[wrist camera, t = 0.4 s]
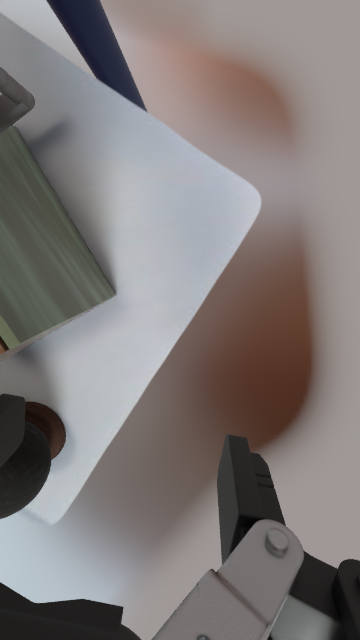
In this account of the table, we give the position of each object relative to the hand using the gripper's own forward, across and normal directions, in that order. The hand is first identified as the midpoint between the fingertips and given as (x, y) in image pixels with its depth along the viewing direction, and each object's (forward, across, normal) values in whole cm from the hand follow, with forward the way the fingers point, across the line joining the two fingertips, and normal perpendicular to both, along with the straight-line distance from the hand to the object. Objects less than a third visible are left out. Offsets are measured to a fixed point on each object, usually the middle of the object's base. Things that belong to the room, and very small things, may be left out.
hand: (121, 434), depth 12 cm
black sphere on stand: (+33, +21, +27) cm, 48 cm away
